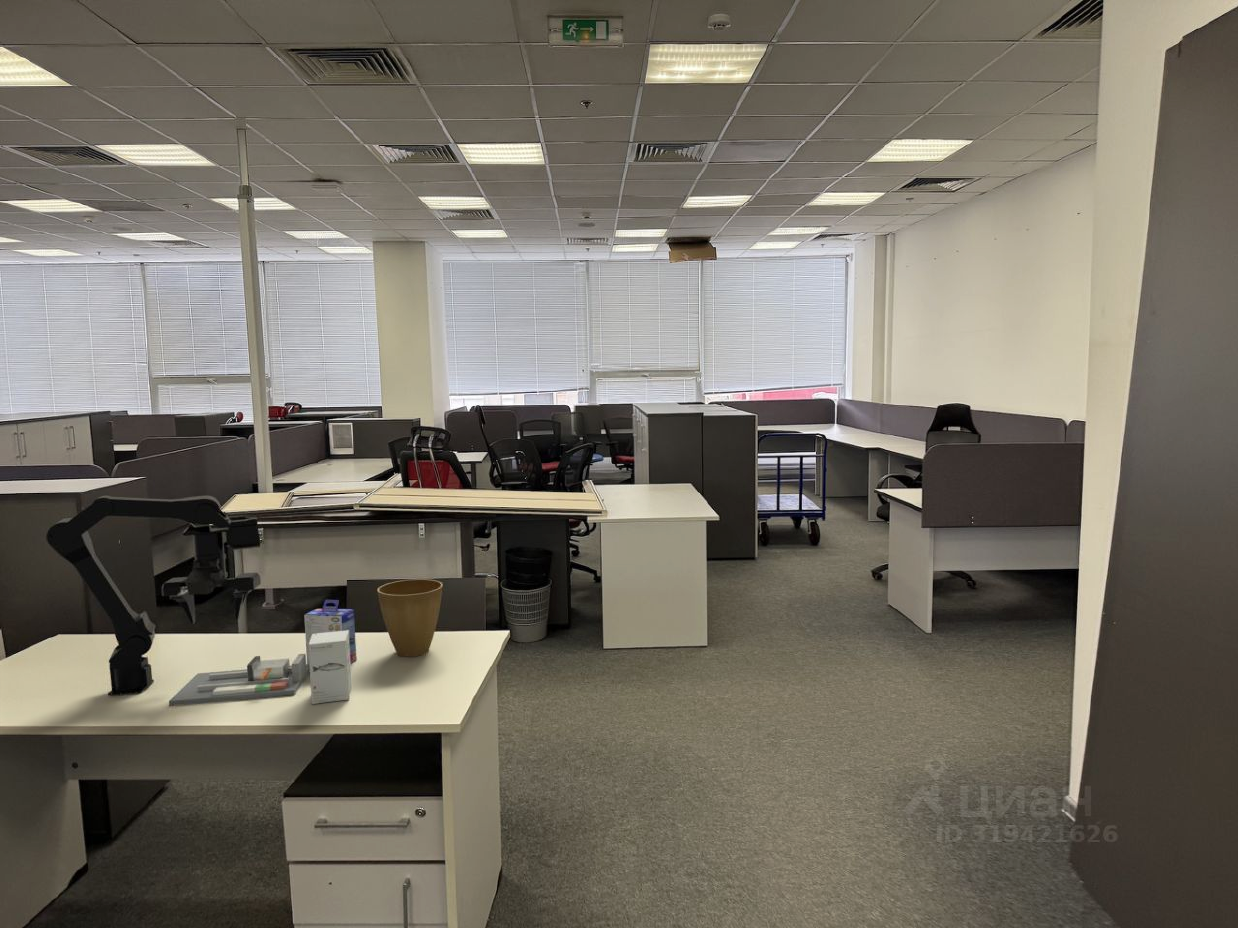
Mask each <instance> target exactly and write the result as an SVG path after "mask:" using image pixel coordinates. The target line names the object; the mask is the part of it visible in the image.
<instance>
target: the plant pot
mask: <svg viewBox="0 0 1238 928" xmlns="http://www.w3.org/2000/svg"><path fill="white" fill-rule="evenodd" d="M443 586H444V585H443V582H441V581H438V580H434V579H425V578H424V579H422V578H420V579H419V578H417V579H416V578H415V579H403V580H398V581H393V582H389V583H385V584H384V585H381V586H379V587H378V588H377V597H378V600H379V601H378V602H379V605H380V610H381V614H382V618H383V622H384V623H385V628H386V631H387V632H388V635H389V638H390V642H391V644H392V646H393V648H394V650H395V652H396V654H397V655H398V656H400V657H405V658H412V657H418V655H419V656H423V655H424V653H425V654H427V653H428V651H430V648H431V645H432V642H433V639H434V635H435V632H436V627H437V625H438V624H437V623H438V619H439V614H440V608H441V602H442V594H443ZM426 652H427V653H426ZM422 654H423V655H422Z"/></svg>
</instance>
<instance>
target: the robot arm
mask: <svg viewBox="0 0 1238 928" xmlns="http://www.w3.org/2000/svg"><path fill="white" fill-rule="evenodd" d="M106 517H131V518H132V517H134V518H135V517H137V518H163V519H164V518H166V519H169V518H170V519H173V520H174V519H175V520H179V521H182V522H183V521H184V522H187V523H189V525H188V527H187V528H186V529H184V531H183V533H182V536H183V537H187V536H188V537H189V536H192V539H193V540H192V541H193V551H194V560H193V562H192V563H193V564H192V571H191V572H190V573H189V575H188V576H182V577H172V578H169V580H167V581H165V582H164V583H163V584H162V585H161V596H162V597H169V600H174V601H175V602H177V603H178V604H179V605H180V606H181V608H182V609H183V611H184V613H185V614H186V617H187V619H188V620H189V622H190V624H191V625H194V624H196V623H195V622H196V609H195V595H200V594H203V595H208V594H211V593H213V591H214V589H217V588H218V589H220V588H233V589H235V591H234V592H233V593H232V594H233V597H234V617H235V621H239V620H240V619H241V615H242V612H243V609H244V606H245V602H246V600H247V598H248V596H249V593H251V592H252V591H253V590H255V589H257V588H258V586H260V585H262V582H261V575H260V574H259V573H258V572H245V573H243V572H242V573H240V574H238V575H237V576H236V577H231V578H227V577H229V575H228V574H229V573H228V571H226V570H227V569H226V559H227V553H225V548H224V547H225V546H224V537H223V536H224V533H225V537H226V538H225V539H226V547H227V548H228V547H229V548H230V549H232V551H241V550H250V549H251V550H252V549H259V548H261V536H260V531H259V526H258V525H259V524H258V518H257V517H250V518H246V519H235V520H231V518H230V516H228V515H226V514H225V512H224V511H223V510H222V508H221V504H220V501H219V500H218V499H217V498H216V497H215V496H212V495H197V496H190V497H183V498H176V499H171V498H169V499H168V498H167V499H166V498H145V497H142V498H141V497H122V496H119V497H118V496H111V495H102V496H100V497H98V498H96V499H95V500H94V501H93V502H92V503H91V504H90V505H89V506H87V507H86V508H85V509H83V510H82V511H81V512H79V513H78V514H77V515H75V516H74V517H65V518H63V519H60V520H59V521H58V522H56V523H54V524H53V525H52V526H51V527H50V528H49V529H48V531H47V533H46V535H45V537H46V538H45V539H46V541H47V544H48V545H49V546H50V547H51V548H52V549H53V550H54V551H55V552H56V553H57V554H58V555H59V556H60V557H61V558H62V559H64V560H65V561H67V562H68V563H70V564H71V565H72V566H73V567H74V568H75V570H76V571H77V573H78V574H79V576H80V577H81V579H82V581H83V582H84V583H85V585H86V587H88V589H89V591H90V592H91V593H92V595H93V596H94V598H95V600H96V601H97V602H98V604H99V606H100V607H101V609H102V610H103V611H104V613H105V615H106V616H107V618H108V619H109V620H110V623H111V625H112V629H113V632H114V636H115V639H116V642H117V644H118V645H116V647H115V648H114V649H113V650H112V651H113V652H112V653H111V655H110V657H109V659H108V663H109V674H110V685H111V690H109V692H108V693H107V696H109V695H110V696H121V695H129V694H131V695H132V694H141V693H143V692H144V691H145V690H146V689H147V688H149V686H150V685H152V684H153V683H154V682H155V680H154V679H153V672H152V665H151V664H150V663H149V658H148V656H144V655H145V654H147V653H148V652H149V651H150V650H151V648H152V645H153V642H154V640H155V637H156V633H155V628H156V625H155V623H153V622H152V621H151V619H150V618H149V615H148V614H147V611H143V612H142V613H140V614H139V613H137V612H136V611H135V610H133V609H132V608H131V607H130V605H129V604H128V603H129V602H127V600H126V599H125V598H124V596H123V595H122V593H121V591H120V590H119V588H118V587H117V584H116V583H115V582H114V580H113V579H112V578H111V576H110V575H109V573H108V571H107V570H106V568H105V567H104V565H103V564H102V562H101V561H100V559H99V558H98V556H97V555H96V552H95V549H94V545H93V542H92V538H91V536H90V533H89V530H90V529H91V528H92V527H94V526H95V525H97V524H98V523H99V522H101V521H102V520H103V519H104V518H106ZM195 524H196V525H195ZM197 524H198V525H197ZM211 525H212V526H214V527H215V528H211ZM120 694H121V695H120Z"/></svg>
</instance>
